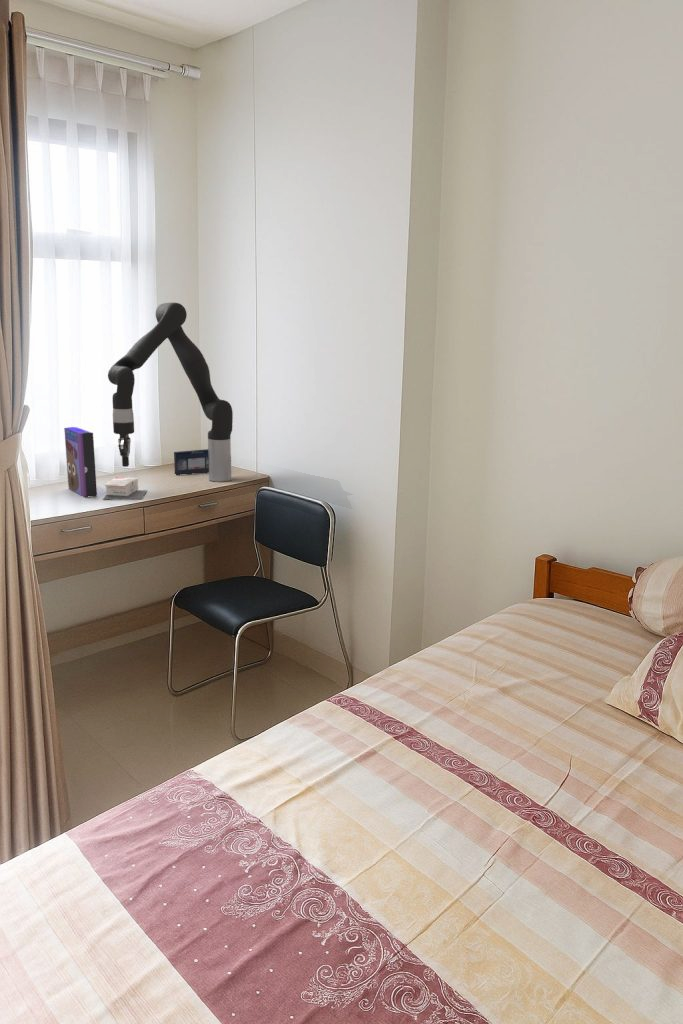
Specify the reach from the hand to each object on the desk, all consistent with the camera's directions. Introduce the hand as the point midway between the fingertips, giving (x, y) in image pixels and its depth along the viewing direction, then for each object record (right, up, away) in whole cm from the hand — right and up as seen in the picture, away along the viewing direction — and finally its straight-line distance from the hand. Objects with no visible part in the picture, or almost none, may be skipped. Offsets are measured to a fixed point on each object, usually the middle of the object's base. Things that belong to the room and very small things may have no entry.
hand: (125, 466), depth 294 cm
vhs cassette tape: (+19, -1, +42) cm, 46 cm away
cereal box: (-17, -10, +3) cm, 20 cm away
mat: (0, -11, -1) cm, 11 cm away
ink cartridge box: (-1, -6, +7) cm, 9 cm away
